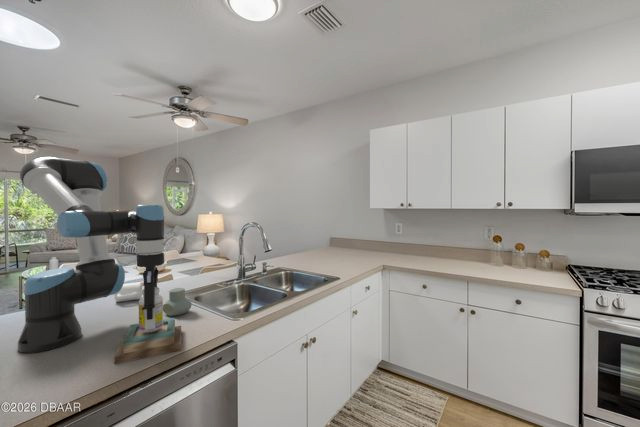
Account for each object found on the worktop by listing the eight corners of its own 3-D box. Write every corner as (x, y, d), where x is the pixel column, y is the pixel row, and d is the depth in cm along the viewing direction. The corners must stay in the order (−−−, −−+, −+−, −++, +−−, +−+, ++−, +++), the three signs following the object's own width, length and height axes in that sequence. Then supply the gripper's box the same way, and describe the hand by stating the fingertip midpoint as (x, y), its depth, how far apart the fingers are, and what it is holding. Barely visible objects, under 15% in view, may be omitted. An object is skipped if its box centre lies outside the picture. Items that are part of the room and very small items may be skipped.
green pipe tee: (194, 312, 117) (194, 289, 117) (176, 319, 110) (176, 294, 110) (177, 308, 122) (177, 285, 122) (159, 314, 115) (159, 290, 115)
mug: (118, 299, 134) (118, 282, 134) (142, 296, 138) (142, 280, 138) (112, 307, 123) (112, 289, 123) (138, 303, 128) (138, 286, 128)
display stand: (114, 363, 78) (114, 344, 78) (124, 341, 92) (123, 324, 92) (181, 350, 86) (181, 332, 86) (181, 331, 99) (181, 315, 99)
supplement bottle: (141, 326, 91) (141, 287, 90) (164, 323, 93) (164, 285, 93) (136, 334, 84) (136, 293, 84) (161, 331, 87) (160, 290, 87)
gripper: (162, 256, 81) (162, 334, 82) (165, 248, 99) (166, 311, 99) (131, 259, 78) (132, 339, 78) (140, 249, 95) (141, 315, 96)
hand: (151, 324), depth 89 cm, fingers closed on supplement bottle, 7 cm apart
